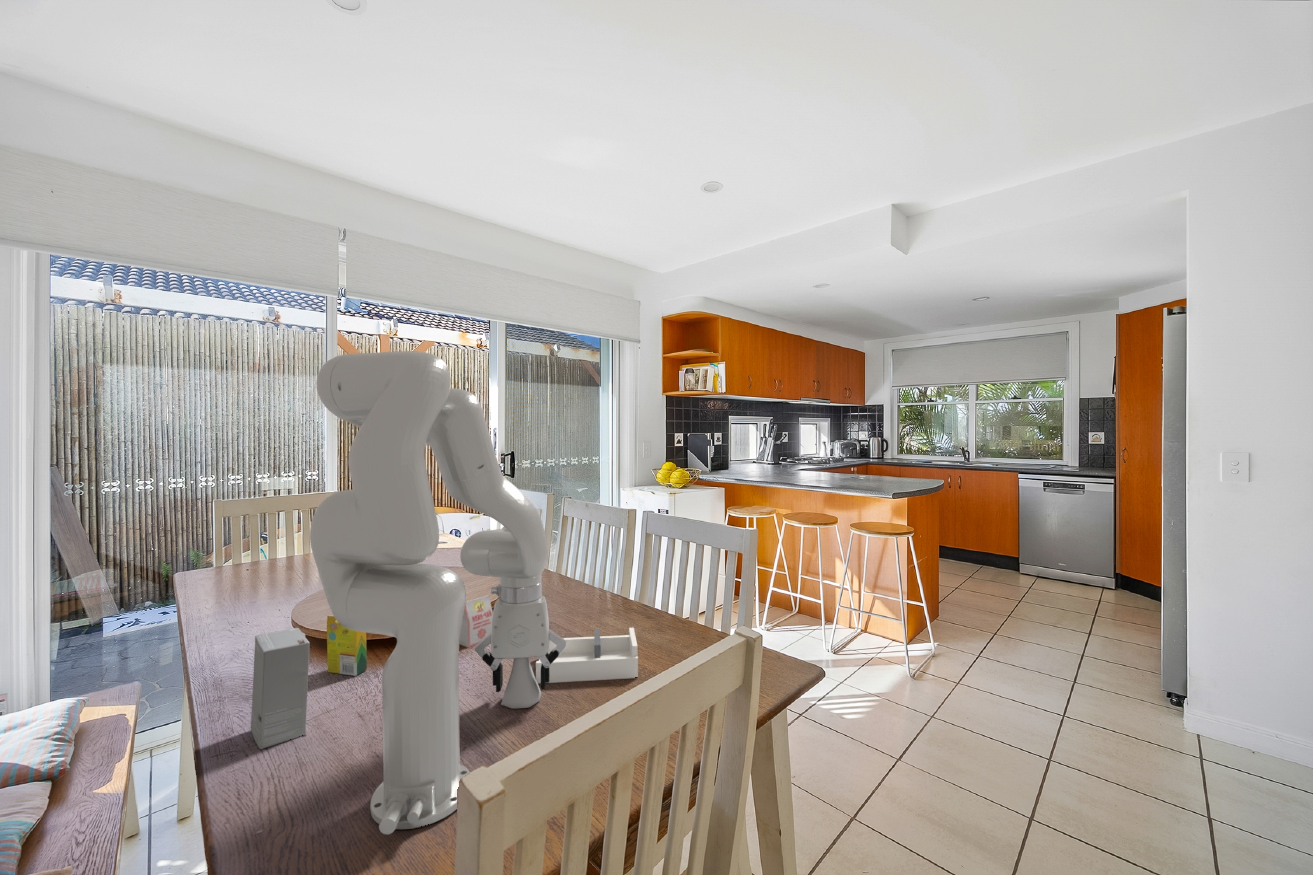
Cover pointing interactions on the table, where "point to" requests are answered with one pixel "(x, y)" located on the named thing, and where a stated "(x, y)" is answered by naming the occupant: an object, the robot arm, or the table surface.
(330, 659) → the crayon box
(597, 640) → the pusher
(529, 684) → the flask
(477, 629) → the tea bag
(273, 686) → the skincare box
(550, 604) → the table surface
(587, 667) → the tray
